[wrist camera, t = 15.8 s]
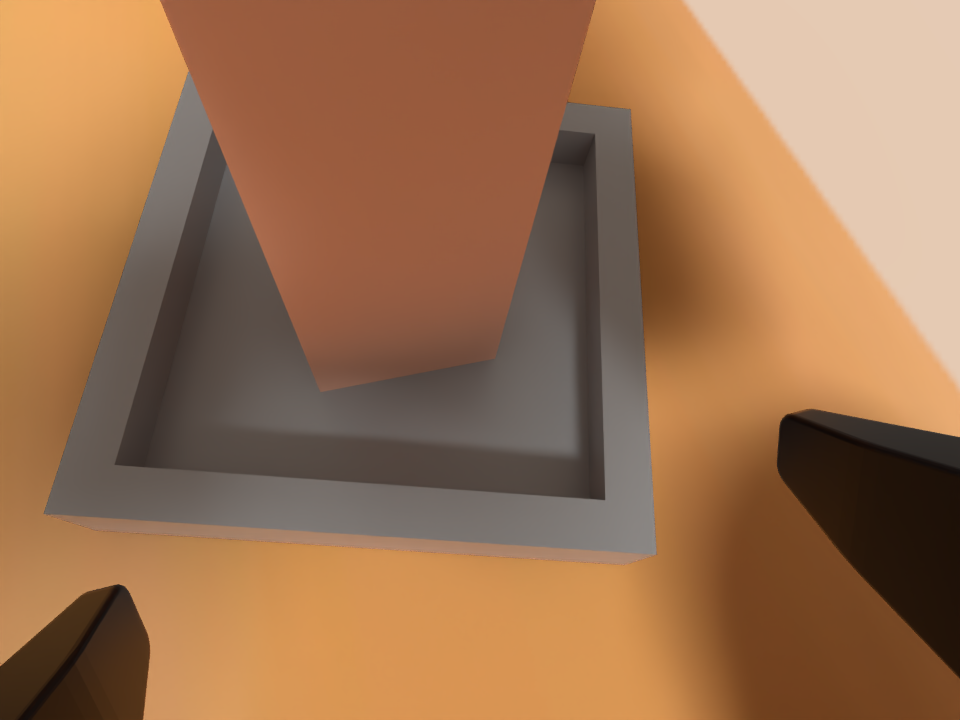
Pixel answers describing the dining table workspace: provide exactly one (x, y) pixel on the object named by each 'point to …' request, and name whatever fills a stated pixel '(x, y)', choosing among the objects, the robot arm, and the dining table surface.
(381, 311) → the terracotta block
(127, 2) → the dining table surface
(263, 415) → the grey square tray
